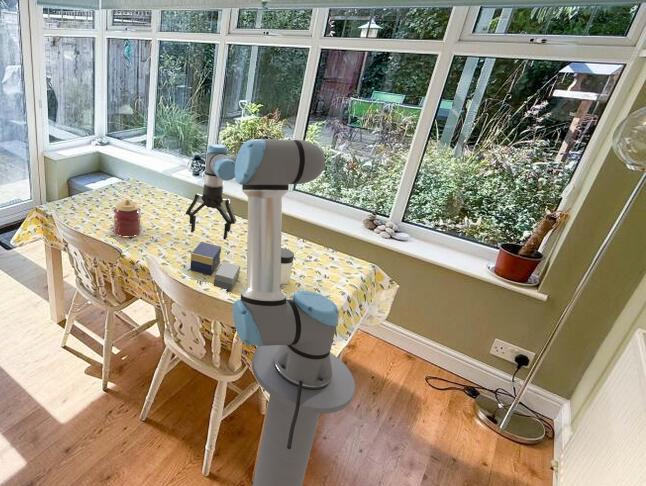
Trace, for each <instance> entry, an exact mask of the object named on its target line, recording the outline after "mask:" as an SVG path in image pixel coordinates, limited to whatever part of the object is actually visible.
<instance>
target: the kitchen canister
mask: <svg viewBox="0 0 646 486" xmlns="http://www.w3.org/2000/svg"><path fill="white" fill-rule="evenodd" d="M141 211H142V210H141V208H140V205H139V204H138V203H137V202H136V201H134V200H130V199H129V198H125V200H121V201H119V202H118V203H116V204H115V208H114V209H113V213H114V215H113V232H114V234H115V233H116V234H118V235H121V236H134V235H137V234H138V233H140V234H141V229H142V228H141V219H142V218H141ZM116 234H115V235H116ZM137 236H138V235H137Z"/></svg>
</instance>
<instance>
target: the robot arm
mask: <svg viewBox="0 0 646 486" xmlns="http://www.w3.org/2000/svg"><path fill="white" fill-rule="evenodd" d="M205 155H206V156H205V157H206V158H205V168H204V178H203V183H204V184H203V188H202V189H203V190H202V194H200V193H199V192H197V193H196V194H194V198H193V200H192V202H191V204H190V205H189V207H188V208H187V210H186V211H185V215H186V216H187V215H188V216H189V224H190V226H191V227H190V233H194V232H195V231H196V221H197V220H196V219H197V215H196V214H197V213H198V212H199V211H200V210H202V209H203V208H204V207H206V208H211V209H216V210H217V212H219V214H220V216H221V217H222V219H223V220H224V221H225V224H224V230H223V238H222V239H223V240H224V241H225V240H227V238H228V233H230V232H231V228H232V225H235V224H236V222H237V218H236V215H235V213H234V209H233V207H232V205H231V198H229V197H228V198H223V194H224V184H225V182H226V181H232V180H233V179H235V181H236V183H237V184H239V185H241V191H242V193H244V195H245V196H246V197H247V233H246V235H247V238H246V239H247V242H246V243H247V244H246V286H245V288H243V289H242V290H241V291H240V299H237V300H234V302H233V304H232V319H233V324H234V328H235V330H236V334H237V335H238V338H239V339H240V341H241V342H242V343H243V344H245V345H246V346H251V347H252V346H254V347H258V346H271V345H281V346H280V348H279V349H278V351H277V352H276V354H275V358H274V366H275V369H276V371H277V372H278V374H279V375H280V376H281V377H282V378H283V379H284V380H286V381H287V382H289V383H290V384H292V385H294V386H297V387H298V393H297V401H296V408H295V412H294V416H293V420H292V423H291V427H290V432H289V438H288V444H287V448H288V449H291V445H292V439H293V433H294V428H295V424H296V420H297V417H298V413H299V407H300V399H301V391H302V388H303V389H308V390H319V389H323V388H325V387H327V386H328V385H329V384H330V382H331V378H332V366H331V360H330V352H331V349H332V347H333V346H332V345H333V342H334V338H335V334H336V330H337V326H338V325H339V317H340V311H339V308H338V306H337V304H335V302H333V301H332V300H331V299H330V298H328V297H327V296H325V295H323V294H321V293H319V292H316V291H312V290H307V289H300V290H297V291H296V292H294V294H293V295H292V299H287V294H286V293H285V292H284V291H283V290H282V289H281V285H282V284H281V248H282V230H283V229H282V228H283V227H282V226H283V225H282V222H283V221H282V220H283V198H284V196H285V195H286V194H287V193H288V192H289V185H303V184H308V183H310V182H313V181H314V180H316V179H317V178H319V176H321V174H322V173H323V171H324V168H325V166H326V160H325V159H326V157H325V155H324V152H323V151H322V150H321V148H320V147H319V146H317V145H316V144H314V143H313V142H311V141H307V140H303V139H278V138H277V139H276V138H275V139H274V138H257V139H256V138H255V139H248V140H246V141H244V142H243V144H241V146H240V148H239V150H238V152H237V155H236V156H228V147H227V145H224V144H219V143H217V144H215V143H214V144H213V143H212V144H209V145H208V146H207V147H206V153H205ZM199 200H202V203H201V204H199V206H197V207H196V208H195V209H194V207H195V206H196V204H197V203H198V201H199ZM222 203H223V204H224V205H225V208H226V209H224V206H223V205H222ZM193 209H194V210H193ZM192 210H193V211H192Z"/></svg>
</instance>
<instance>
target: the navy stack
mask: <svg viewBox="0 0 646 486" xmlns="http://www.w3.org/2000/svg"><path fill="white" fill-rule="evenodd" d="M220 263H221V254H220V255H219V256H218V257H217V259H216V260H215V262H214V263H213V265H209V264H205V263H201V262H197V261H193V260H191V259H190V268H189V271H192V272H196V273H199V274H202V275H207V276H210V277H212V276H213V274H214V272H215V271H216V269H217V268H218V266H219V265H220Z"/></svg>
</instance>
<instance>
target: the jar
mask: <svg viewBox="0 0 646 486" xmlns="http://www.w3.org/2000/svg"><path fill="white" fill-rule="evenodd" d="M294 256H295V254H294V251H292V250H291V249H289V248H284V247H281V284H280V285H286V284H287V285H288V284H290V281H291V277H292V270H293V264H294Z"/></svg>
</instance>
